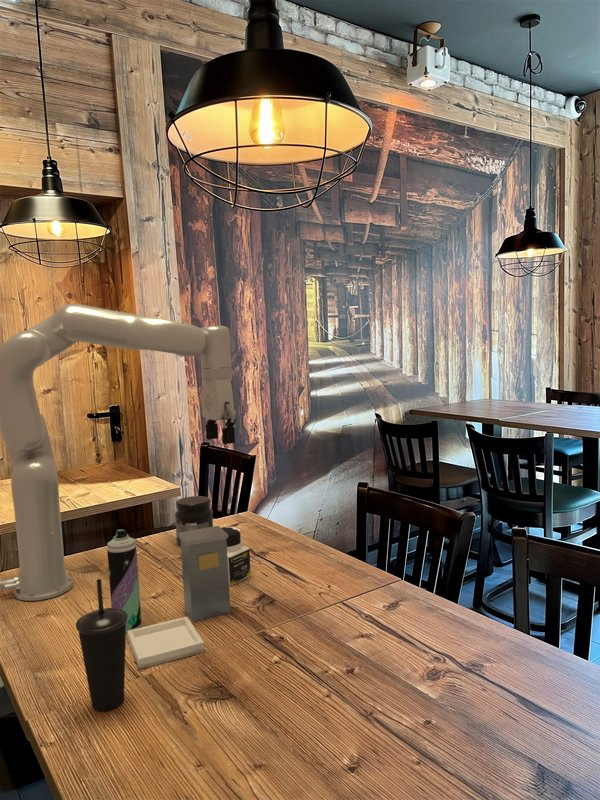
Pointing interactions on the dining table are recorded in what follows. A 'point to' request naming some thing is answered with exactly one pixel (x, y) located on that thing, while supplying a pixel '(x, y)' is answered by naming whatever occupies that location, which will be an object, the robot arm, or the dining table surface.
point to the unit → (205, 573)
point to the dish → (164, 642)
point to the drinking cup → (104, 654)
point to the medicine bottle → (236, 556)
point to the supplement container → (192, 514)
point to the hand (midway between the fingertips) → (220, 441)
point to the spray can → (124, 578)
